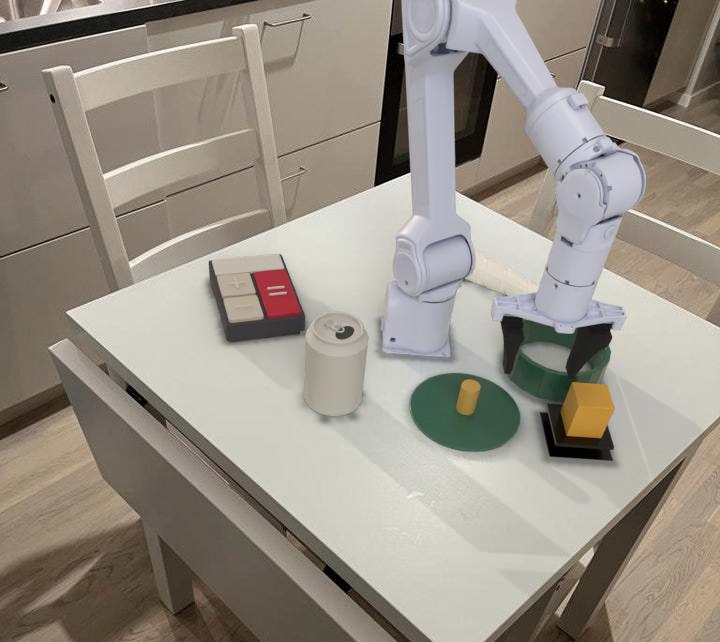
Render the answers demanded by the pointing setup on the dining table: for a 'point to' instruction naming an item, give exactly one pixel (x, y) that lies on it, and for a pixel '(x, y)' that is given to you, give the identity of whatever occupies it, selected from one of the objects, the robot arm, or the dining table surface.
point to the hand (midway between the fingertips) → (538, 370)
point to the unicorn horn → (499, 277)
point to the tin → (548, 380)
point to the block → (587, 410)
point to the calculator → (255, 297)
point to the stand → (573, 439)
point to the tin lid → (464, 412)
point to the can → (335, 363)
